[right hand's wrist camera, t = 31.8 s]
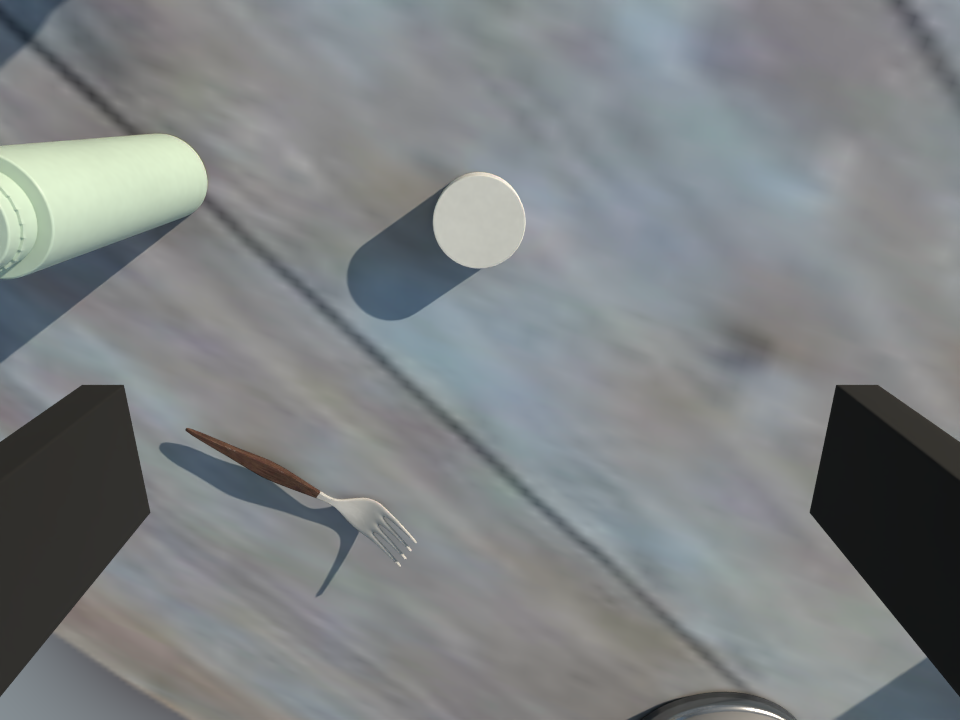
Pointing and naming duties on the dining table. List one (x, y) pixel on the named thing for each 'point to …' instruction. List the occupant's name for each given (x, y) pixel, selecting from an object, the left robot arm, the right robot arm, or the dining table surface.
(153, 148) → the light green cylinder
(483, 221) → the lid
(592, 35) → the dining table surface
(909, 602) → the right robot arm
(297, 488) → the fork
